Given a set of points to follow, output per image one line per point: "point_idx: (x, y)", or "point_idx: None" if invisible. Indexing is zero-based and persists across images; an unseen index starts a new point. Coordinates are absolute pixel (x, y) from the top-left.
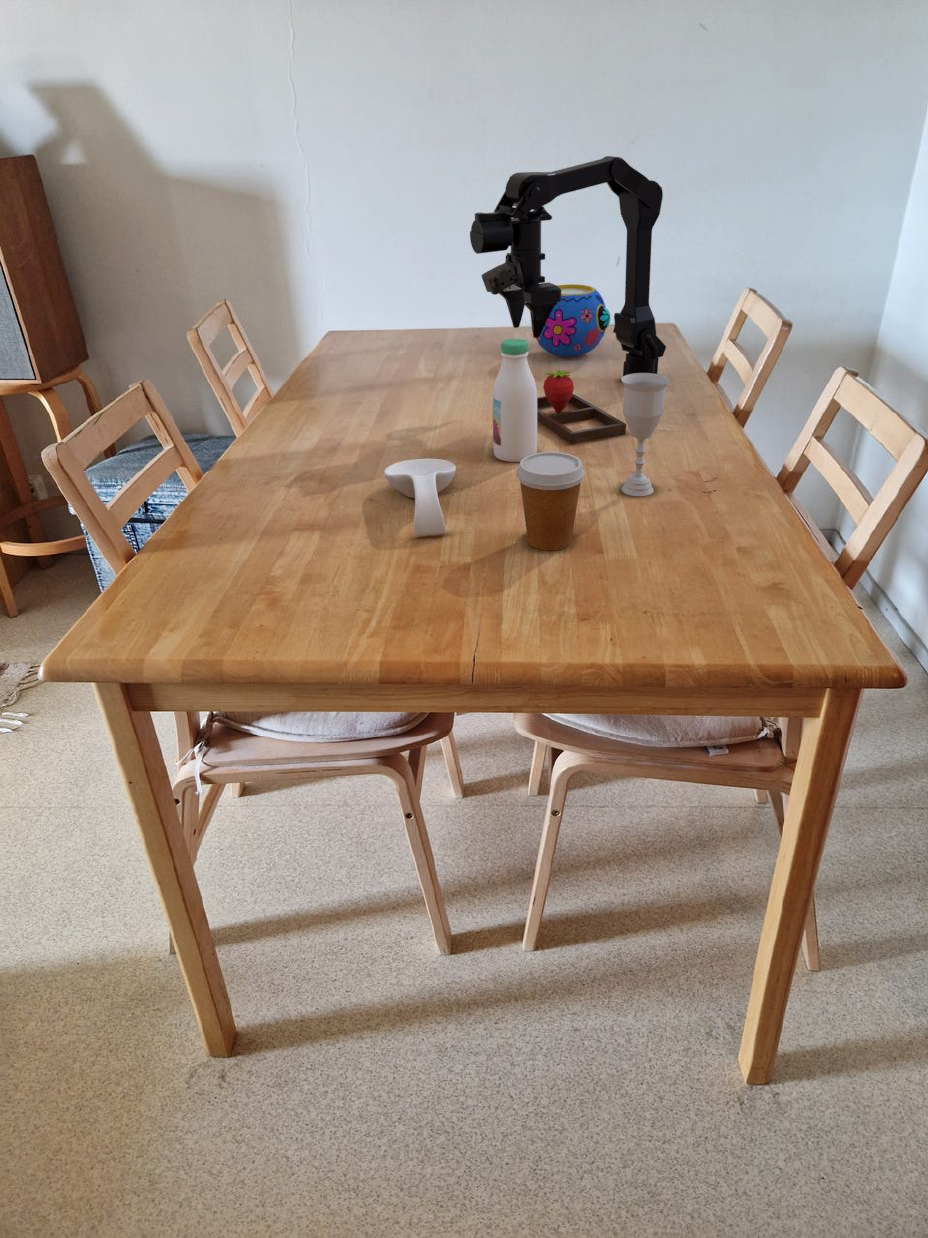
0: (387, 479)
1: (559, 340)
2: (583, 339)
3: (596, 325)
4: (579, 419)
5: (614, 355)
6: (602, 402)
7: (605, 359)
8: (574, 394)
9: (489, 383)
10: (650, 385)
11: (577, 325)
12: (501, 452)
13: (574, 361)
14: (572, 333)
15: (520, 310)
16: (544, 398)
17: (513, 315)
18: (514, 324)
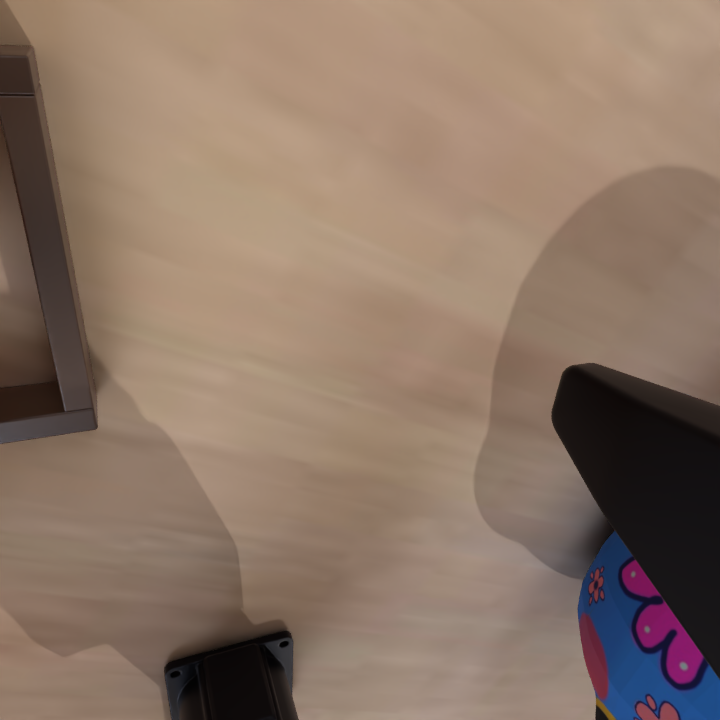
0: None
1: None
2: (598, 629)
3: (613, 712)
4: None
5: (538, 642)
6: (14, 526)
7: (525, 617)
8: (33, 437)
9: (604, 117)
10: None
11: (650, 666)
12: None
13: (577, 534)
14: (638, 621)
15: (707, 602)
16: (30, 253)
17: (700, 459)
18: (590, 388)
